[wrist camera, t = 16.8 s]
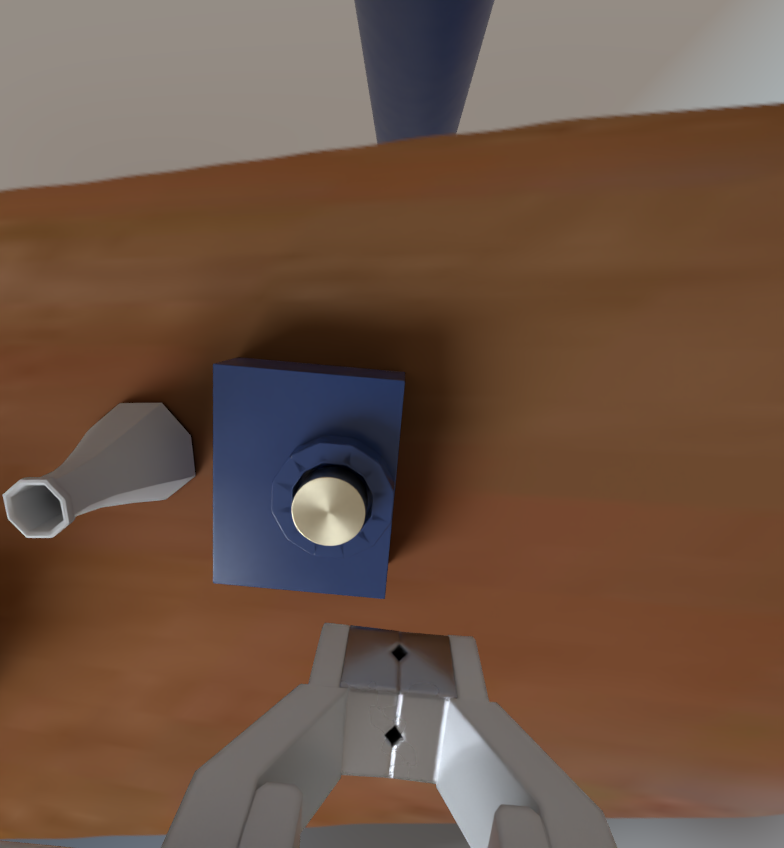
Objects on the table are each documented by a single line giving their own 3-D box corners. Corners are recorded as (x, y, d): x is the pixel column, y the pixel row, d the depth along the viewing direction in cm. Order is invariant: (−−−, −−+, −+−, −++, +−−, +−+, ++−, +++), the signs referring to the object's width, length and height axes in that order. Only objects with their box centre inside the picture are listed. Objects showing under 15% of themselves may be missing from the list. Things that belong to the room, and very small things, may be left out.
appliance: (237, 357, 31) (199, 367, 25) (405, 372, 31) (405, 385, 25) (235, 551, 34) (200, 600, 28) (387, 565, 34) (383, 616, 28)
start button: (299, 463, 27) (292, 473, 25) (370, 469, 27) (368, 480, 25) (296, 528, 28) (289, 542, 26) (365, 535, 28) (362, 549, 26)
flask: (214, 482, 33) (134, 552, 23) (122, 513, 34) (8, 593, 24) (170, 384, 32) (65, 416, 22) (74, 419, 32) (-68, 465, 23)
